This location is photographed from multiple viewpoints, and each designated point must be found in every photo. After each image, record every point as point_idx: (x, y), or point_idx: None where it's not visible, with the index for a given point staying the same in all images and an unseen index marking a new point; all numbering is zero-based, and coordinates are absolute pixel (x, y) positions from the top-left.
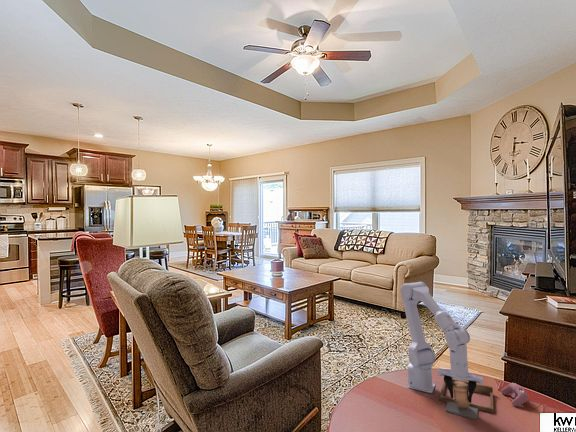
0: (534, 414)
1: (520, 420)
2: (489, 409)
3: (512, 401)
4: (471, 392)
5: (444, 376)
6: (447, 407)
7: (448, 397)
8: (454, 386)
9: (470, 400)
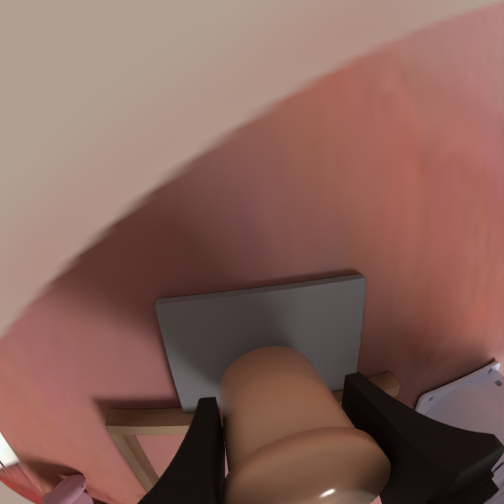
0: (18, 447)
1: (18, 399)
2: (124, 421)
3: (81, 489)
4: (180, 472)
5: (492, 486)
6: (355, 316)
7: None
8: (372, 463)
9: (201, 409)
